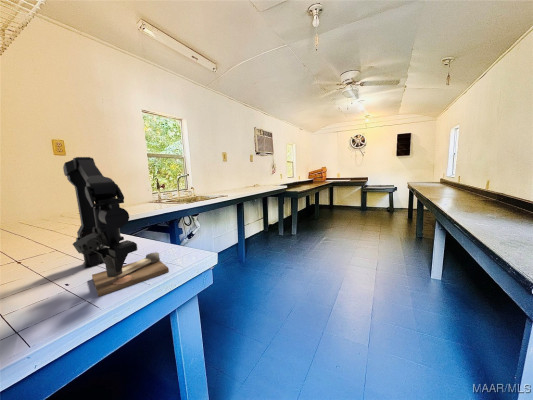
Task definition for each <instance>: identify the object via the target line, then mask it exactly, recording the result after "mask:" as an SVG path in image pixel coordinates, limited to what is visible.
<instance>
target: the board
mask: <svg viewBox="0 0 533 400" xmlns="http://www.w3.org/2000/svg"><path fill="white" fill-rule="evenodd" d="M138 261H139V260H138ZM138 261H137V260H136V261H135V262H138ZM135 262H130V263H127V264H123V266H122V268H124V267H127V266H129V265H131V264H133V263H135ZM169 270H170V269H169V267H168V266H167V265H166V264H165V263H164V262H162V261H161V260H159V261H158V262H155V263H148V264H146V265H144V266H142V267H140V268H138V269H136V270H134V271H132V272H130V273H128V274H126V275H124V276H121V277H119V278H115V277H107V271H106V270H104V271H100V272H97V273H94V274H91V279H92V282H93V285H94V287H95V291H96V293H97V296H98V297H101V296H105V295H108V294H110V293H113V292H117V291H120V290H122V289H124V288H128V287H129V286H133V285H136V284H138V283H142V282H144V281H147V280H150V279H152V278H155V277H159V276H160V275H164V274H166V273H169V272H170V271H169Z"/></svg>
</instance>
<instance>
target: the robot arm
mask: <svg viewBox="0 0 533 400" xmlns="http://www.w3.org/2000/svg"><path fill="white" fill-rule="evenodd" d="M62 169H63V175H64V176H65V177H66V179H67V181H68V183H70V184H71V185H72V186H73V187H74V189H75V191H74V192H75V195H76V196H75V197H76V202H77V209H78V213H79V214H78V215H79V219H80V226H79V228H78V230H77V235H76V236H77V237H76V239H75V241H74V242H73V243H72V246H73V247H74V248H75V250H76V252H77V253H78V254H81V255H83V260H84V261H83V263H82V264H83V266H84V267H83V268H84V269H87V268H88V269H89V268H92V267H95V266H99V265H102V264H103V265H104V264H105V259H104V258H105V257H106V256H108V257H111V258H112V261H113V264H114V268H115V270H116V272H120V271H121V269H122V266H123V265H125V264H124V263H125V261H126V259H127V257H128V255H129V254H131V253H133V252H136V251H138V244H137V243H136V242H135V241H132V240H125V237H124V236H122V235H121V230H120V229H122V228H123V227H124V226H126V225H127V224H128V222H129V220H130V214H129V212H128V211H127V210H126V209H125V208H123V207H121V206H120V204H125V196H124V194H123V192H122V190H121V187H119V185H118V184H117V183H116V182H115V181H114V180H113V179H112V178H110V177H107V176H104V175H103V174H102V172H101V171H100V169H99V168H98V166H97V165H96V162H95V160H94V158H93V157H91V156H75V157H73V158H72V160H69V161H67V162H64V164H63V168H62Z"/></svg>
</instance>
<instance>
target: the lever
mask: <svg viewBox="0 0 533 400" xmlns="http://www.w3.org/2000/svg"><path fill="white" fill-rule="evenodd" d="M104 259H105V263H104V264H105V265H104V266H105V271H107V277H115V278H119V277H121V276H124V275H126V274H128V273H130V272H132V271H134V270H136V269H138V268H140V267H142V266H144V265H146V264H148V263H155V262H158V261H159V260H160V253H159V252H156V251H155V252H150V253H148V254H146V255H145V258H142V259H140V260H138V262H137V261H135V263H134V262H132V263H133V264H131V265H129V266H127V267H124V268H122V269H121V271H120V272H116V270H115V268H114V264H113V261H112V258H111V257H108V256H106V257H105V258H104ZM160 261H161V260H160Z"/></svg>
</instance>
